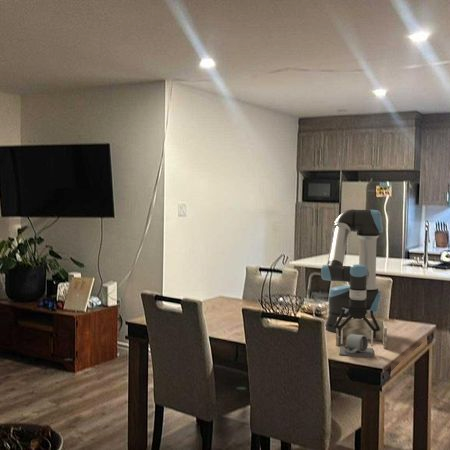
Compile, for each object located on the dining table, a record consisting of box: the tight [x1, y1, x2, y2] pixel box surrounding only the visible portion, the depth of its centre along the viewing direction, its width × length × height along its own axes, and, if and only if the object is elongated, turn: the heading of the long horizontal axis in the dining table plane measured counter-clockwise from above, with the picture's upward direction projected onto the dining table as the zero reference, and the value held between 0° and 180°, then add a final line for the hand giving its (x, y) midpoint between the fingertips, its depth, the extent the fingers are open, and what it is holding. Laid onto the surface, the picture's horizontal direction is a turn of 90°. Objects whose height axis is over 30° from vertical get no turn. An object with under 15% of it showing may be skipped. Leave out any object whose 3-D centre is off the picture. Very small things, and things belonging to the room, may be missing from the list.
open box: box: [335, 317, 388, 350], centre depth 278 cm, size 23×17×10 cm
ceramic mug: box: [345, 334, 369, 354], centre depth 260 cm, size 11×8×8 cm
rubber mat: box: [339, 345, 375, 359], centre depth 261 cm, size 15×13×1 cm
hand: (356, 344), depth 261 cm, fingers open, 13 cm apart
